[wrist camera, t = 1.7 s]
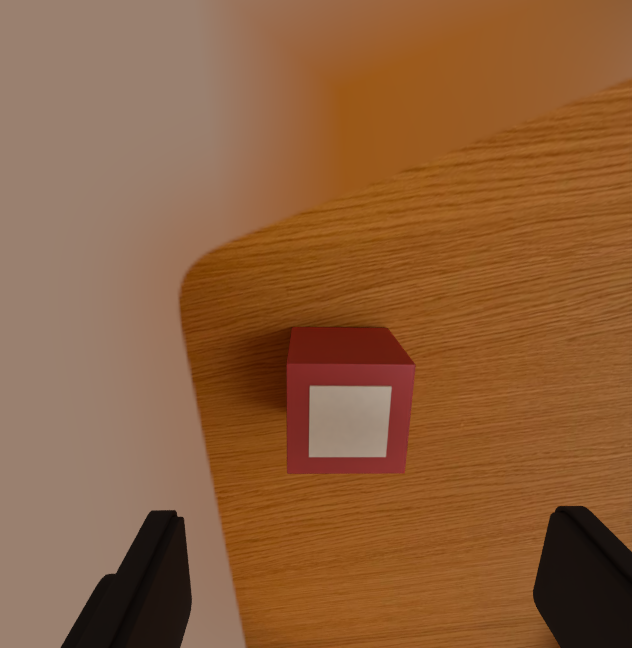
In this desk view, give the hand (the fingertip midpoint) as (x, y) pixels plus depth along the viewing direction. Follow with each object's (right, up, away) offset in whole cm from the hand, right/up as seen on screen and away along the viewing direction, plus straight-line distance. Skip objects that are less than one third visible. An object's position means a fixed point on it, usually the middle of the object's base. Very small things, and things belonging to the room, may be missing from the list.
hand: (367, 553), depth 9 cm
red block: (0, +3, +10) cm, 11 cm away
